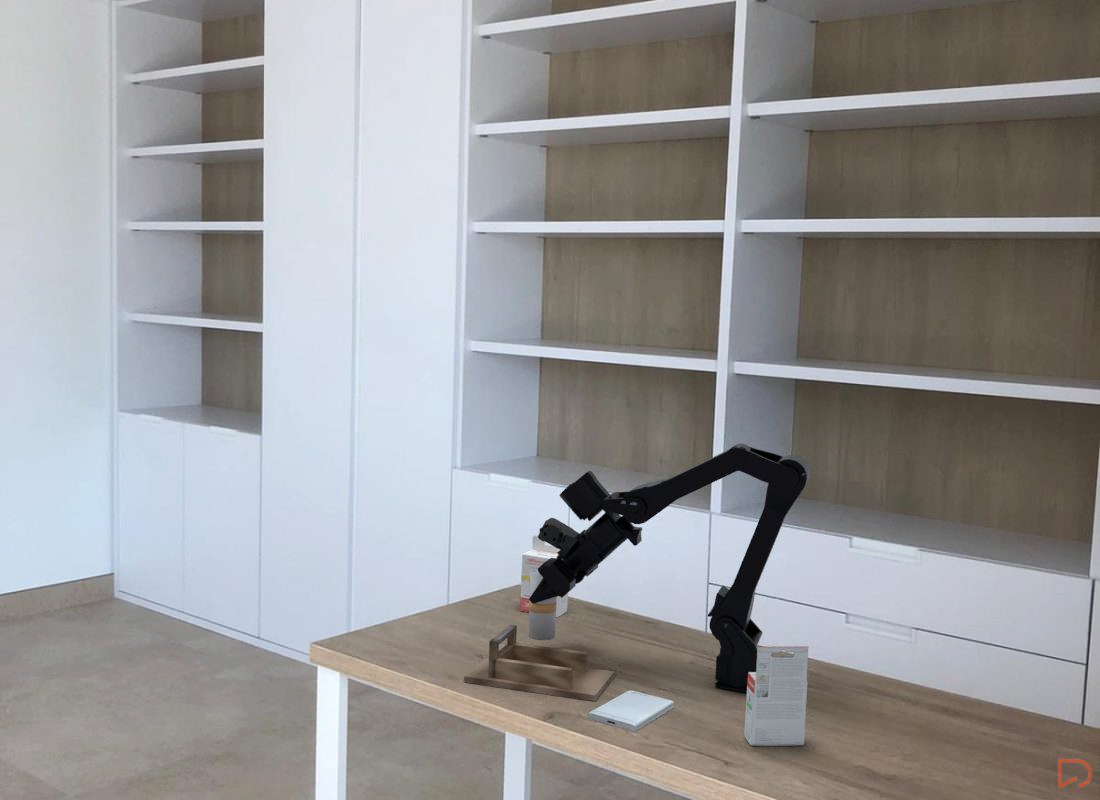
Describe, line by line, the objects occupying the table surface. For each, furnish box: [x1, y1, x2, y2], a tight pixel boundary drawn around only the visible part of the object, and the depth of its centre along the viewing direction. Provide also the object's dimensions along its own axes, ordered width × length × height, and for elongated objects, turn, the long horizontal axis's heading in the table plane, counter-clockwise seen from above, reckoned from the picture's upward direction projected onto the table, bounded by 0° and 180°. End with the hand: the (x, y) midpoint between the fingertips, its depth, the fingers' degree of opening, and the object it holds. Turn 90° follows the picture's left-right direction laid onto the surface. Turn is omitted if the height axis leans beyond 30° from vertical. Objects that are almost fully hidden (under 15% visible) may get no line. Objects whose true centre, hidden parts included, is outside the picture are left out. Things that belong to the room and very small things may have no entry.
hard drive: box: [586, 690, 675, 733], centre depth 172 cm, size 2×8×12 cm
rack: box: [463, 624, 615, 702], centre depth 185 cm, size 22×12×7 cm, turn 72°
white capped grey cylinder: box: [528, 571, 557, 641], centre depth 196 cm, size 5×5×11 cm
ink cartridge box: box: [519, 534, 569, 618], centre depth 225 cm, size 9×5×15 cm, turn 66°
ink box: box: [743, 646, 809, 747], centre depth 163 cm, size 4×8×15 cm, turn 96°
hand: (535, 597), depth 196 cm, fingers closed on white capped grey cylinder, 5 cm apart
